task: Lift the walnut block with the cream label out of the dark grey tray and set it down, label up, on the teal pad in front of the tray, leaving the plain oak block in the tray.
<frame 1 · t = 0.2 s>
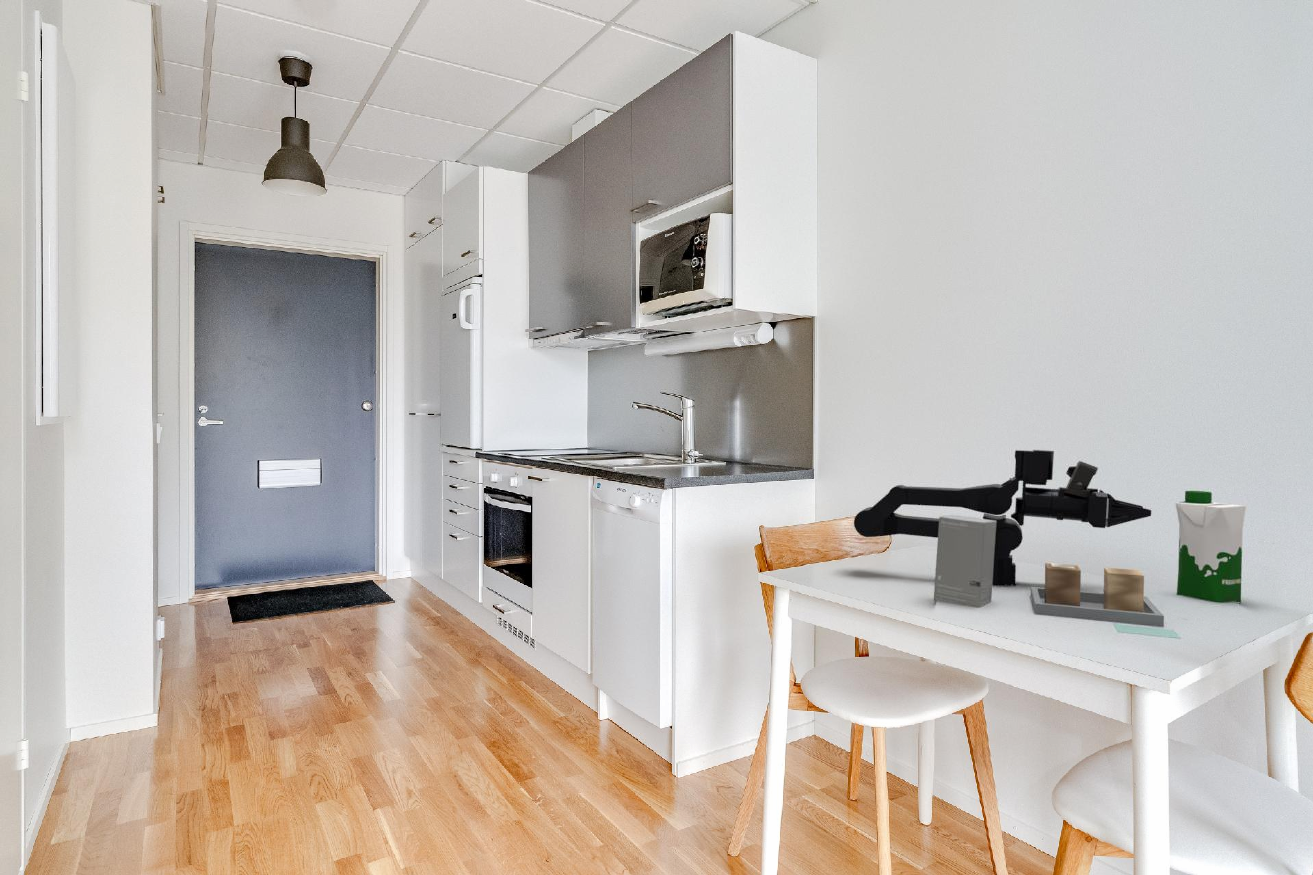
hand: (1146, 510, 136), 17 cm above the table, tool horizontal, fingers open, 9 cm apart
milk carton: (1208, 601, 136), on the table
skincare box: (964, 605, 132), on the table
tray: (1091, 614, 126), on the table
walnut box: (1061, 607, 128), point 1 cm above the table, touching tray
oak box: (1122, 612, 124), point 1 cm above the table, touching tray
teal pad: (1145, 635, 113), on the table
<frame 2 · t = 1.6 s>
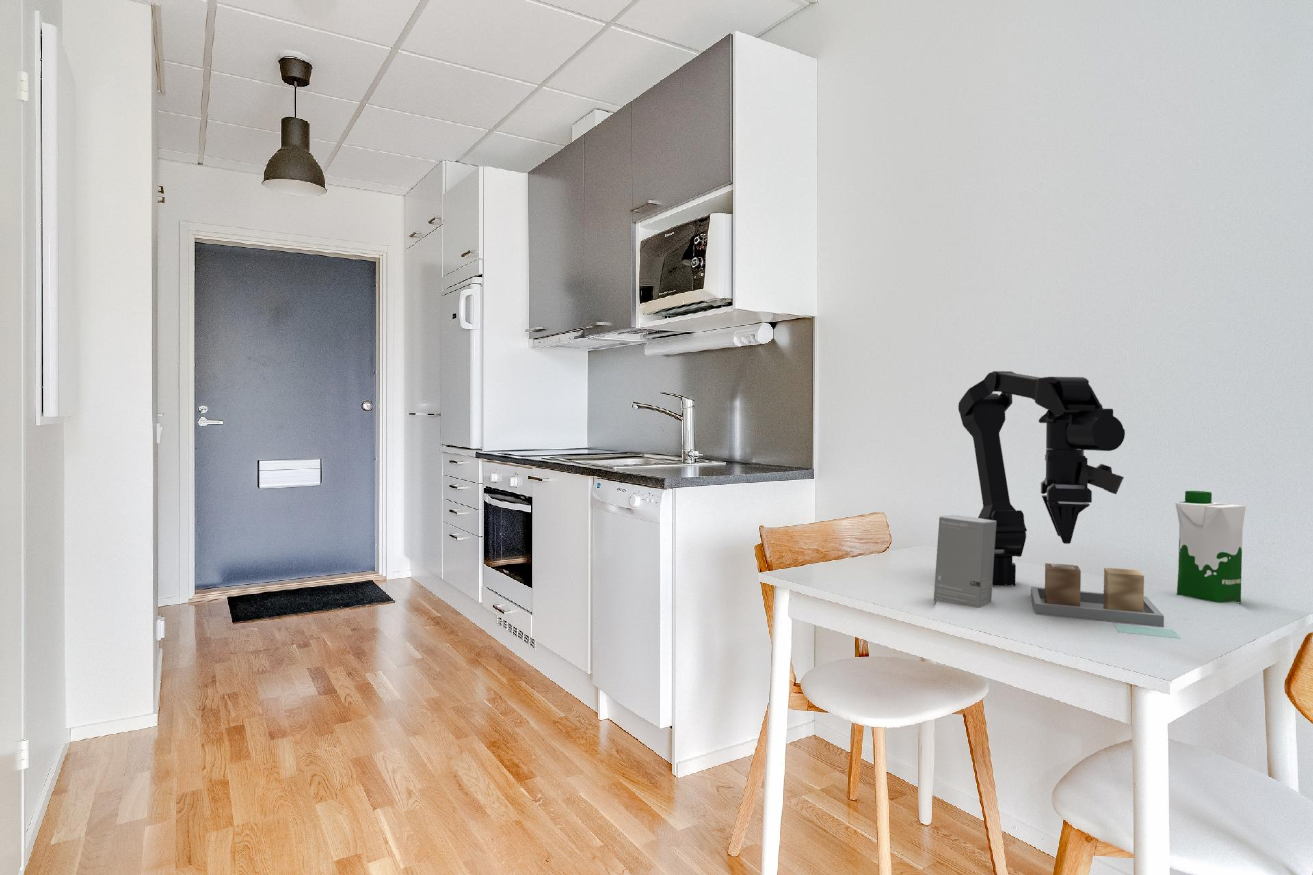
hand: (1063, 539, 127), 13 cm above the table, tool pointing down, fingers open, 9 cm apart
nothing on the table moved.
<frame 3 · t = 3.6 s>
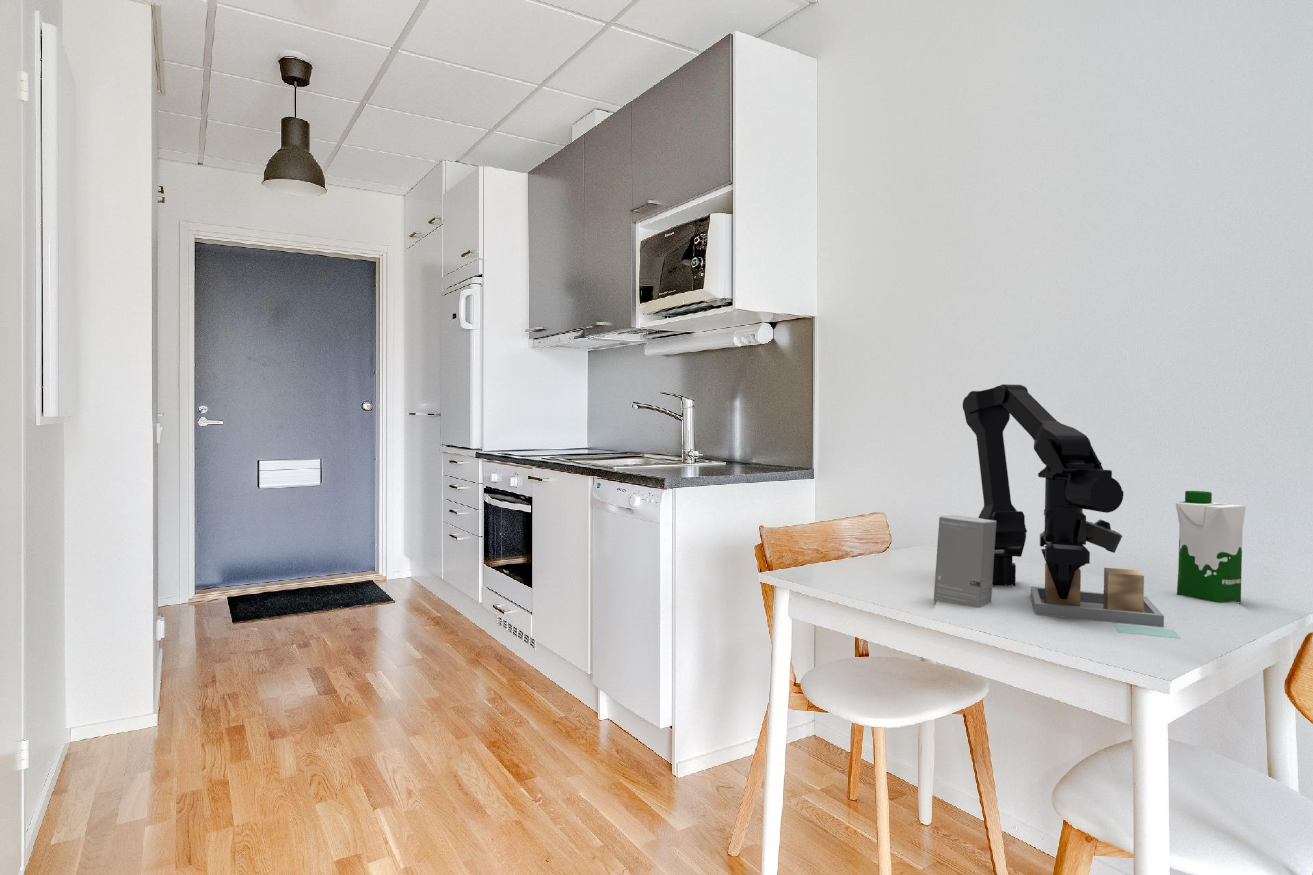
hand: (1062, 595, 128), 3 cm above the table, tool pointing down, fingers closed on walnut box, 5 cm apart
walnut box: (1061, 607, 128), point 1 cm above the table, touching gripper, tray
everything else where it was.
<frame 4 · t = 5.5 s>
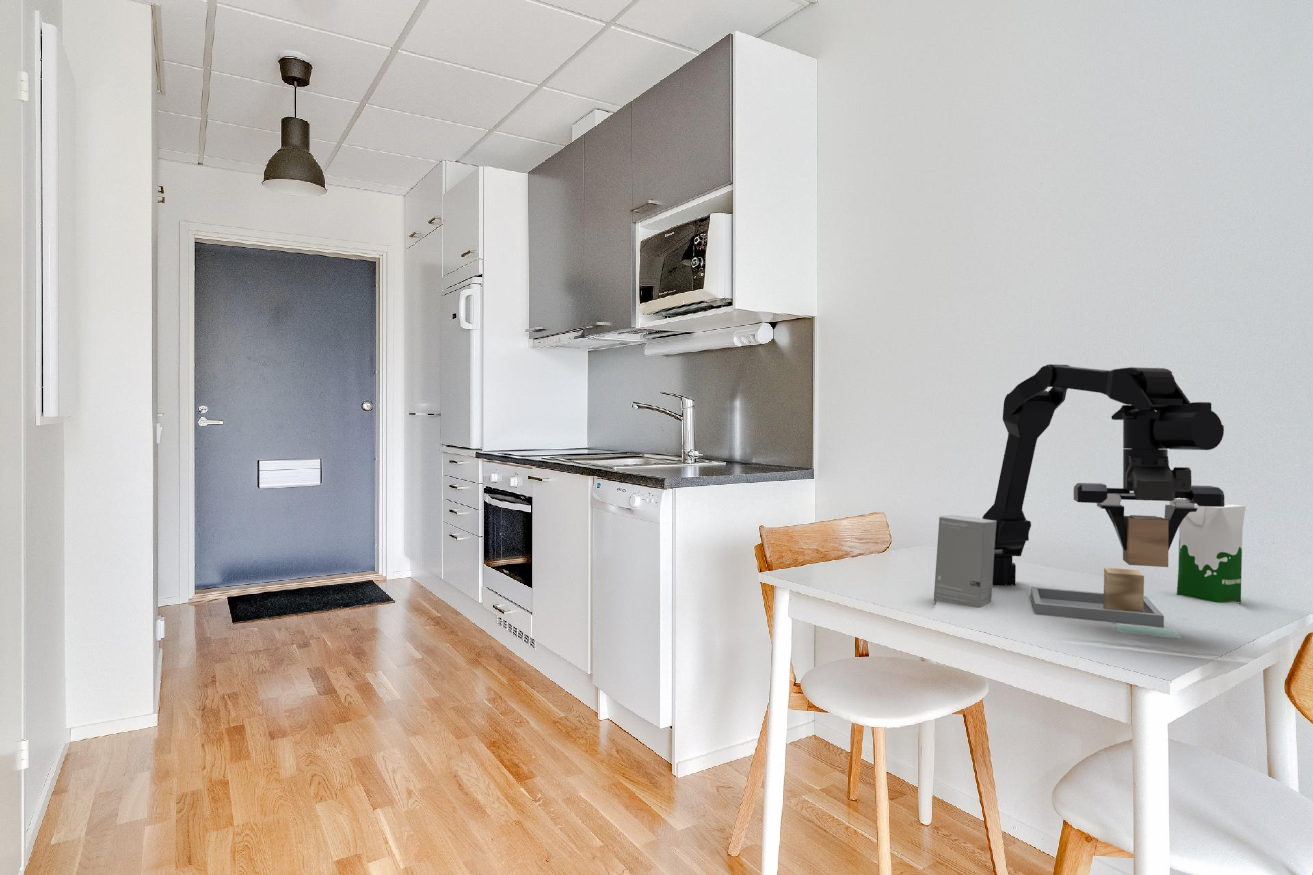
hand: (1144, 550, 113), 13 cm above the table, tool pointing down, fingers closed on walnut box, 5 cm apart
walnut box: (1144, 563, 113), point 11 cm above the table, touching gripper
everything else where it was.
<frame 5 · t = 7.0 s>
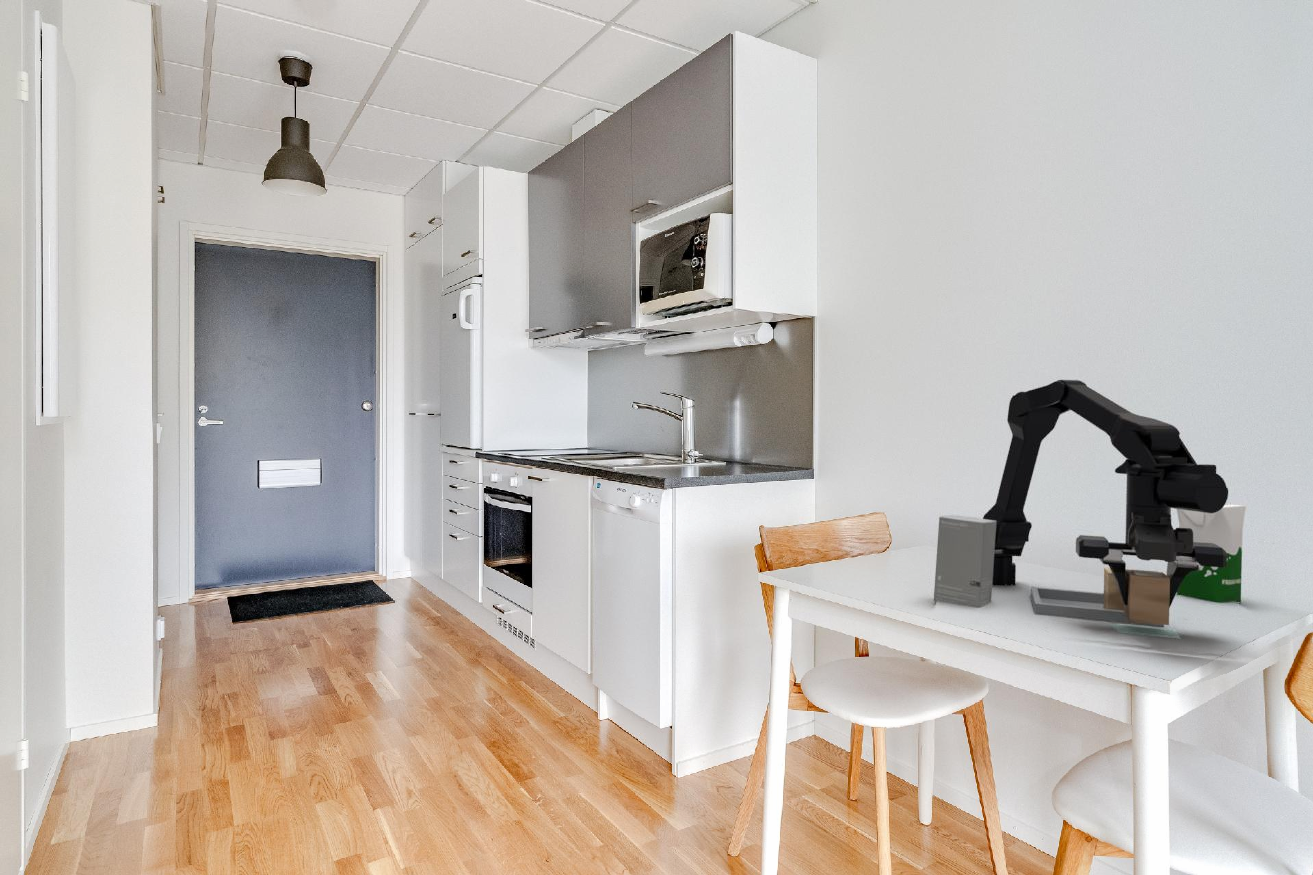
hand: (1146, 606, 113), 5 cm above the table, tool pointing down, fingers closed on walnut box, 5 cm apart
walnut box: (1145, 619, 113), point 3 cm above the table, touching gripper
everything else where it was.
when the fingers open (4 cm above the table, at t = 7.9 s): walnut box drops 1 cm, resting on teal pad.
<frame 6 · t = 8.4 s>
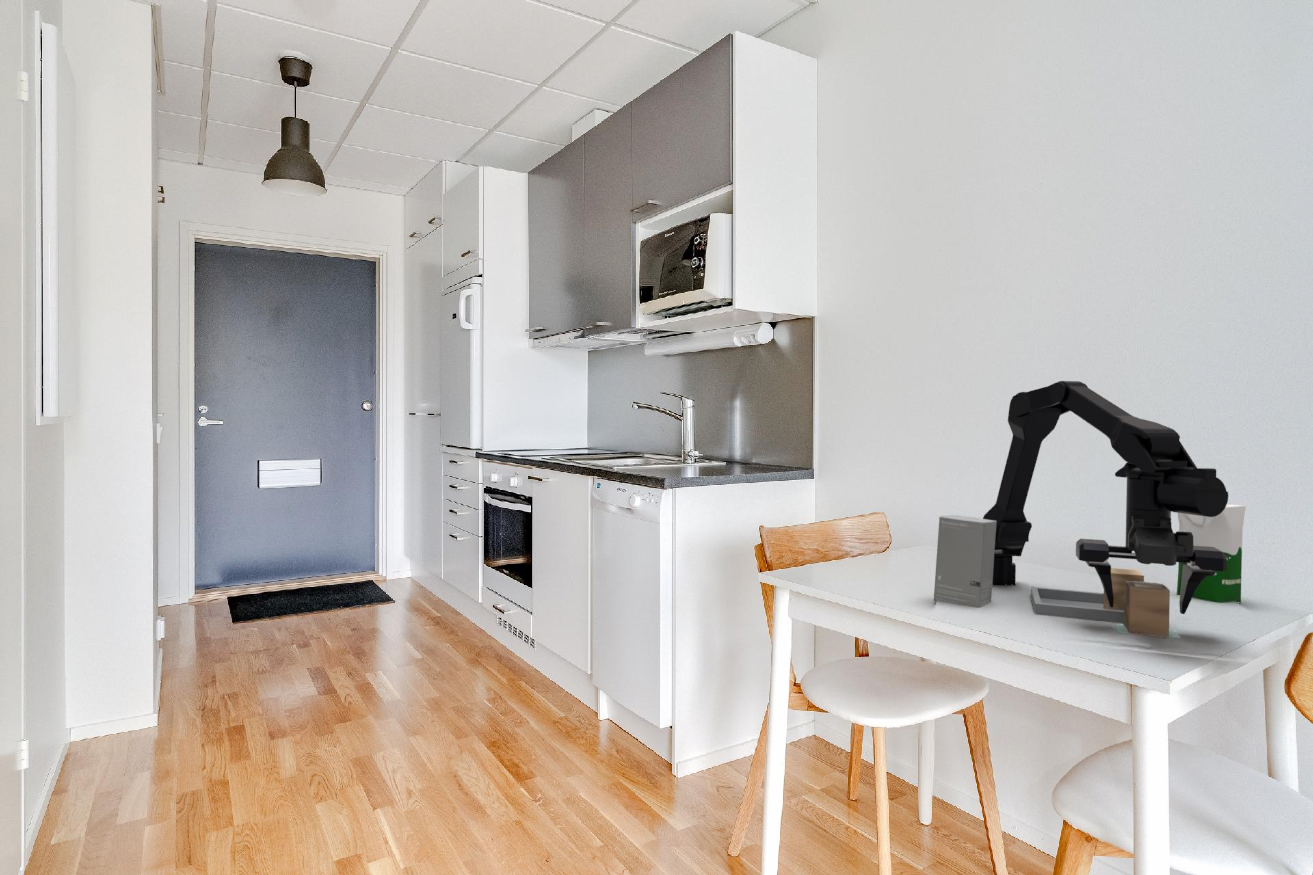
hand: (1146, 610, 113), 4 cm above the table, tool pointing down, fingers open, 9 cm apart
walnut box: (1145, 630, 113), point 1 cm above the table, touching teal pad
everything else where it was.
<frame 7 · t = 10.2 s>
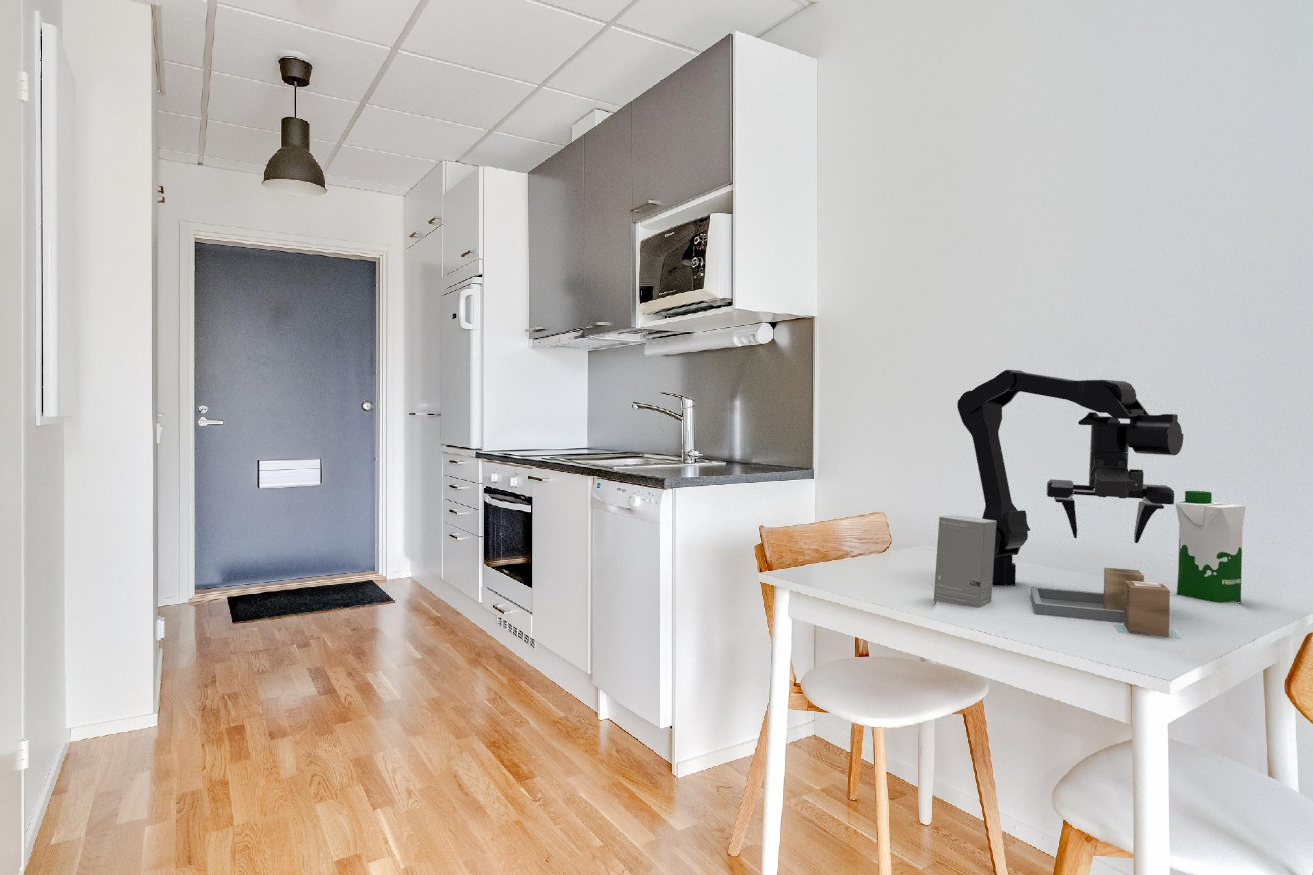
hand: (1105, 540, 130), 12 cm above the table, tool pointing down, fingers open, 9 cm apart
nothing on the table moved.
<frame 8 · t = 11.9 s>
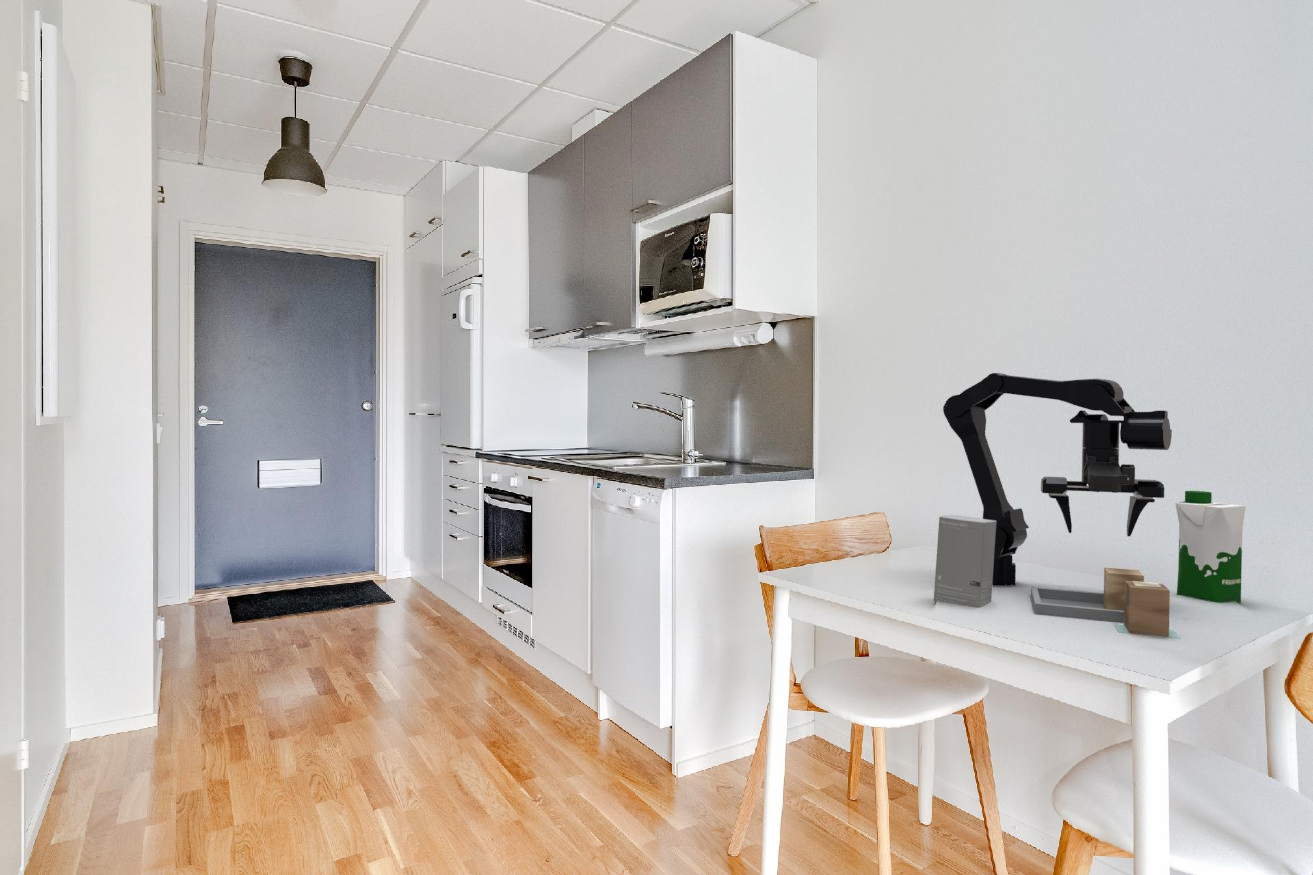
hand: (1098, 534, 134), 13 cm above the table, tool pointing down, fingers open, 9 cm apart
nothing on the table moved.
at the end: walnut box inside the target area on the teal pad (0.0 cm from its centre), point 0.8 cm above the teal pad's base; walnut box tilted 0°; oak box moved 0.0 cm from its start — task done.
